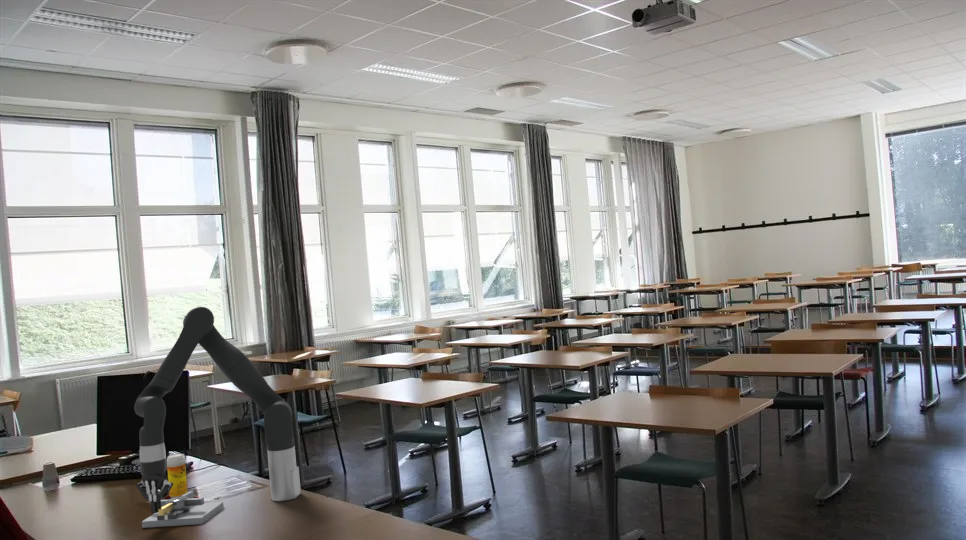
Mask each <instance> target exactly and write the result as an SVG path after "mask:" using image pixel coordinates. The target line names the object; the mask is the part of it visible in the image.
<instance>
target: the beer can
mask: <svg viewBox="0 0 966 540" xmlns="http://www.w3.org/2000/svg"><path fill="white" fill-rule="evenodd" d="M185 459H186V458H185V456H184V453H175V454H172V455H168V456H167V457H166V467H167V470H166V471H167V481H168V482H169V483H170V482H172V483H173V486H172V488H171V489H170V491H169V493H168V494H169V497H170V499H171V498H175V497H180V496H182V495H184V494H186V493H187V492H189V491H188V480H187V468H186V460H185Z"/></svg>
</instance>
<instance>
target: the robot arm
mask: <svg viewBox="0 0 966 540" xmlns="http://www.w3.org/2000/svg"><path fill="white" fill-rule="evenodd" d="M214 323H215V315H214V314H213V312H212V310H211V309H210V308H208V307H206V306H196V307H194V308H192V309H190V310H189V311H188V312H187V313H186V315H185V316H184V318H183V322H182V329H181V332H180V334H179V336H178V337H177V339H176V341H175V343H174V345H173V346H172V348H171V350H170V351H169V352H168V354H167V355H166V357H165V358H164V359H163V361H162V363H161V365H160V366H159V367H158V369H157V371H156V372H155V374H154V376H153V378H152V380H151V381H150V382H149V384H148V385H147V386H146V387H145V388H144V389H143V390H142V391H141V393H140V394H139V395H138V396H137V398H136V400H135V403H134V406H133V408H134V412H135V414H136V415H137V416H139V417H141V418H143V426H141V427H140V429H139V435H138V436H139V470H140V474H141V476H142V477H141V481H140V482H138V483H136V484H135V486H136V489H137V490H138V491H139V493H140V494H141V496H142V498H143V499H144V500H148V501H149V502H150V503H149V505H150V504H151V505H150V511H151V513H152V514H155V513H158V512H159V510H158V509H160V508H161V500H164V499H165V498H166V497H167V496H168V494H169V491H170V489H171V488H172V486H173V483H172V482H170V483H169V482H168V476H167V474H166V471H167V454H166V445H165V435H164V426H165V422H166V421H165V420H166V416H167V407H166V403H165V400H164V399H163V397H164V396H165V395H166V394H169V393H170V392H172V391H173V389H174V388H175V386H176V384H177V383H178V381H179V379H180V377H181V376H182V374H183V372H184V369H185V368H186V366H187V365H188V362H189V360H190V358H191V356H192V354H193V352H194V351H195V349H196V347H197V346H198V345H199V346H201V347H202V349H203V350H205V352H207V354H208V355H209V357H210V358H211V359H212V361H213V362H214V364H216V366H217V367H218V368H219V369H220V371H221V372H222V373H223V374H224V376H225V377H226V378H227V379H228V380H229V381H230V383H231V384H232V385H233V386H235V387H236V388H237V389H238V390H240V391H241V392H242V393H244V394H245V395H246V396H248V398H250V399H251V400H252V401H253V402H254V403H255V404H256V406H257V407H258V409H260V412H262V414H263V427H264V435H265V436H264V437H265V444H266V451H267V462H268V473H269V485H270V496H271V500H272V501H274V502H283V501H284V502H285V501H290V500H295V499H296V498H297V497H299V496H300V495H301V494H302V491H300V490H301V479H300V467H299V466H298V465H297V459H296V458H297V457H296V449H295V448H296V446H295V444H296V443H295V437H294V427H293V418H292V417H293V409H292V407H291V406H290V404H289V403H288V402H287V401H286V400H285V399H283V398H282V396H280V395H279V394H278V393H277V392H276V391H275V390H274V389H273V388H272V387H271V386H270V385H269V384H268V382H267V381H266V379H265V377H264V376H263V374H262V373H261V372H260V371H259V370H258V369H257V367H256V366H255V365H254V363H253V362H252V361H251V360H250V358H248V357H247V355H246V354H245V353H244V352H242V351H241V350H240V349H239V348H238V347H236V346H235V345H234V344H232V343H231V342H230V341H228V340H226V338H225V337H224V336H222V335H221V333H220V332H219V331H218V329H217V328H216V326H215V325H214ZM300 492H301V493H300Z"/></svg>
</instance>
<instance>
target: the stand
mask: <svg viewBox="0 0 966 540" xmlns="http://www.w3.org/2000/svg"><path fill="white" fill-rule="evenodd" d="M224 508H225V507H224V501H215V502H214V501H213V502H204V504H203V505H198V506H189V511H187V512H185V513H183V514H181V515H178V513H167V514H165V515H160V516H159V512H158V513H152V515H150V516H148V517H147V518H145V519H144V520H142V521H141V526H142V528H143V529H144V528H145V529H146V528H157V527H158V528H160V527H174V526H175V527H176V526H187V525H189V526H191V525H202V524H204V523H206V522H207V521H208V520H209V519H211V518H212V517H213V516H215V515H216V514H218V513H219V512H220V511H221V510H222V509H224Z"/></svg>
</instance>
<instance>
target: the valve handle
mask: <svg viewBox="0 0 966 540" xmlns="http://www.w3.org/2000/svg"><path fill="white" fill-rule="evenodd" d="M204 499H205V497H195V491H194V490H189V491H188V492H187V493H186V494H184V495H182V496H180V497H175V498H171V497H170V498H169V499H161V508H160V509H158V510H159V516H160V515H165V514H167V513H178V515H181V514H183V513H185V512H187V511H189V506H198V505H203V504H204V503H205V500H204ZM149 505H150V506H151V504H150V503H149Z"/></svg>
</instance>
